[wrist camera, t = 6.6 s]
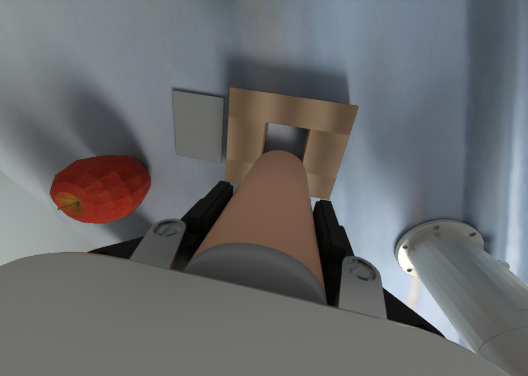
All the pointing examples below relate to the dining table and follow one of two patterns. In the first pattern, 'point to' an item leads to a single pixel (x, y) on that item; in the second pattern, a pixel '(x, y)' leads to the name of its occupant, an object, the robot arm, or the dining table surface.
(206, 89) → the dining table surface
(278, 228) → the peach capped cylinder
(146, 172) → the apple
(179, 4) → the dining table surface
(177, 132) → the mat
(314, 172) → the housing
